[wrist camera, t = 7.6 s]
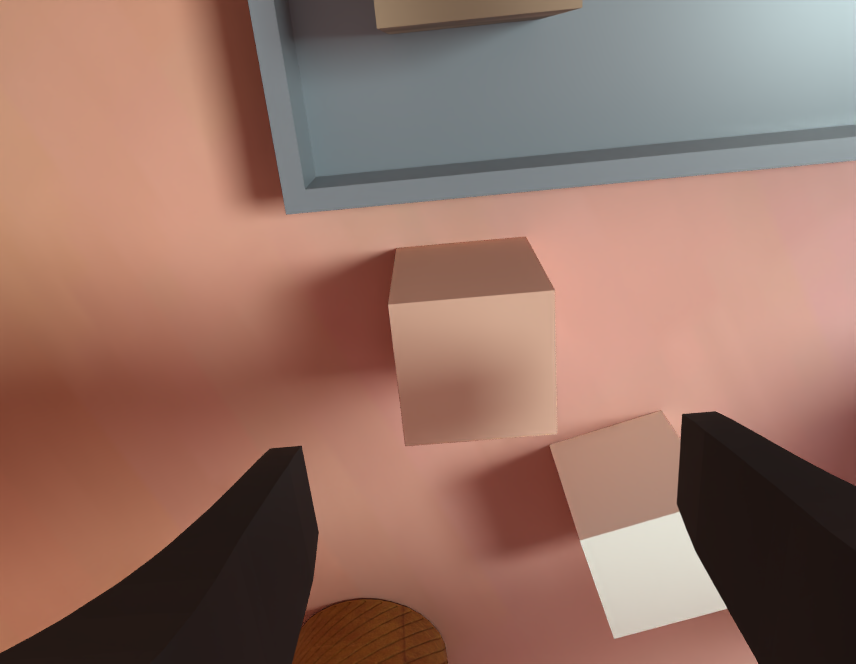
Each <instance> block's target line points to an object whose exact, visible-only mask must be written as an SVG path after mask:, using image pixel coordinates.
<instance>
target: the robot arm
mask: <svg viewBox="0 0 856 664" xmlns="http://www.w3.org/2000/svg"><path fill="white" fill-rule="evenodd" d="M677 506H678V509H679V512H680V514H681V517H682V520H683V522H684V525H685V527H686V530H687V532H688V535H689V537H690V540H691V542H692V545H693V547H694V549H695V552H696V553H697V555H698V557H699V559H700V561H701V563H702V564H703V566H704V568H705V570H706V572H707V573H708V575H709V577H710V579H711V580H712V582H713V584H714V586H715V588H716V589H717V591H718V593H719V595H720V596H721V598H722V600H723V602H724V603H725V605H726V607H727V609H728V610H729V612H730V614H731V616H732V617H733V619H734V621H735V623H736V624H737V626H738V628H739V630H740V631H741V633H742V635H743V637H744V638H745V640H746V642H747V644H748V645H749V647H750V649H751V651H752V652H753V654H754V656H755V658H756V660H757V662H758V664H856V486H854V485H852V484H850V483H848V482H846V481H844V480H842V479H840V478H838V477H836V476H834V475H832V474H830V473H828V472H826V471H824V470H822V469H820V468H818V467H816V466H814V465H813V464H811V463H809V462H807V461H805V460H803V459H801V458H800V457H798V456H796V455H794V454H792V453H791V452H789V451H787V450H785V449H783V448H782V447H780V446H778V445H776V444H774V443H773V442H771V441H769V440H767V439H766V438H764V437H762V436H760V435H759V434H757V433H755V432H753V431H752V430H750V429H748V428H746V427H744V426H743V425H741V424H739V423H737V422H735V421H734V420H732V419H730V418H728V417H726V416H724V415H722V414H720V413H718V412H703V413H691V414H682V427H681V442H680V458H679V473H678V489H677ZM318 533H319V532H318V527H317V522H316V517H315V512H314V507H313V501H312V496H311V491H310V486H309V481H308V476H307V471H306V466H305V461H304V456H303V451H302V446H295V447H283V448H271V449H269V450H268V451H267V452H266V453H265V454H264V455H263V456H262V457H261V458H260V459H259V460H258V461H257V462H256V463H255V464H254V465H253V466H252V467H251V468H250V469H249V470H248V471H247V472H246V473H245V474H244V475H243V476H242V477H241V478H240V479H239V480H238V481H237V482H236V483H235V484H234V485H233V486H232V487H231V488H230V489H229V490H228V491H227V492H226V493H225V494H224V495H223V496H222V497H221V498H220V499H219V500H218V501H217V502H216V503H215V504H214V505H213V506H212V507H211V508H209V509H208V510H207V511H206V512H205V513H204V514H203V515H202V516H201V517H199V518H198V519H197V520H196V521H195V522H194V523H193V524H192V525H191V526H189V527H188V528H187V529H186V530H185V531H184V532H183V533H182V534H180V535H179V536H178V537H177V538H176V539H175V540H174V541H173V542H171V543H170V544H169V545H168V546H167V547H165V548H164V549H163V550H162V551H160V552H159V553H158V554H157V555H155V556H154V557H153V558H152V559H150V560H149V561H148V562H146V563H145V564H144V565H142V566H141V567H140V568H138V569H137V570H136V571H134V572H133V573H132V574H130V575H129V576H128V577H126V578H125V579H123V580H122V581H121V582H119V583H118V584H116V585H115V586H113V587H112V588H110V589H109V590H107V591H106V592H104V593H102V594H101V595H99V596H98V597H96V598H95V599H93V600H92V601H90V602H88V603H87V604H85V605H84V606H82V607H81V608H79V609H78V610H76V611H74V612H73V613H71V614H70V615H68V616H67V617H65V618H63V619H62V620H60V621H58V622H57V623H55V624H53V625H51V626H49V627H48V628H46V629H44V630H42V631H41V632H39V633H37V634H35V635H34V636H32V637H30V638H28V639H26V640H24V641H23V642H21V643H19V644H17V645H15V646H13V647H11V648H9V649H8V650H6V651H4V652H2V653H0V664H292V661H293V658H294V654H295V650H296V646H297V642H298V638H299V634H300V630H301V626H302V623H303V619H304V615H305V611H306V607H307V603H308V599H309V595H310V590H311V586H312V582H313V576H314V568H315V560H316V551H317V542H318Z"/></svg>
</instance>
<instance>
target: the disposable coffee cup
mask: <svg viewBox="0 0 856 664" xmlns="http://www.w3.org/2000/svg"><path fill="white" fill-rule="evenodd" d="M292 664H448V662H447V654H446V649H445V644H444V642H443V640H442V637H441V635H440V633H439V632H438V631H437V630H436V628H435V627H434V626H433V625H432V624H431V623H430V621H428V620H427V619H426V618H425V617H423V616H422V615H421V614H419V613H417V612H415V611H414V610H412V609H410V608H408V607H405V606H402V605H399V604H396V603H393V602H389V601H383V600H373V599H360V600H352V601H346V602H342V603H338V604H335V605H332V606H330V607H328V608H326V609H324V610H322V611H320V612H318V613H317V614H315V615H314V616H313V617H311V618H310V619H309V620H308V621H307V622H306V623H305V624H304V626H303V627H302V628H301V630H300V634H299V638H298V642H297V646H296V650H295V654H294V658H293V661H292Z"/></svg>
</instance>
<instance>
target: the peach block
mask: <svg viewBox="0 0 856 664" xmlns="http://www.w3.org/2000/svg"><path fill="white" fill-rule="evenodd" d="M388 309H389V317H390V325H391V334H392V342H393V350H394V358H395V367H396V375H397V383H398V391H399V399H400V408H401V416H402V424H403V432H404V441H405V446H415V445H428V444H440V443H453V442H466V441H478V440H491V439H503V438H516V437H529V436H541V435H554V434H557V386H556V326H555V290H554V288H553V286H552V284H551V282H550V280H549V278H548V277H547V275H546V273H545V271H544V269H543V267H542V266H541V264H540V262H539V260H538V258H537V256H536V254H535V253H534V251H533V249H532V247H531V245H530V243H529V242H528V240H527V238H526V237H516V238H505V239H494V240H483V241H471V242H460V243H449V244H438V245H427V246H415V247H404V248H396V254H395V260H394V267H393V274H392V281H391V288H390V294H389V301H388Z"/></svg>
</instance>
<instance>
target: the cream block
mask: <svg viewBox="0 0 856 664" xmlns="http://www.w3.org/2000/svg"><path fill="white" fill-rule="evenodd" d="M680 442H681V439H680V437H679V436H678V434H677V433H676V431H675V430H674V428H673V427H672V425H671V424H670V422H669V421H668V419H667V418H666V416H665V415H664V413H663V412H662V410H660V411H657V412H654V413H651V414H647V415H644V416H641V417H638V418H634V419H631V420H628V421H625V422H621V423H618V424H615V425H612V426H609V427H605V428H602V429H599V430H596V431H592V432H589V433H586V434H583V435H579V436H576V437H573V438H570V439H567V440H563V441H560V442H557V443H554V444H550V449H551V452H552V455H553V458H554V461H555V464H556V467H557V471H558V474H559V477H560V480H561V483H562V486H563V489H564V493H565V496H566V499H567V502H568V505H569V508H570V511H571V514H572V518H573V521H574V524H575V527H576V530H577V533H578V536H579V540H580V543H581V545H582V548H583V551H584V554H585V557H586V560H587V563H588V565H589V568H590V571H591V574H592V577H593V580H594V583H595V585H596V588H597V591H598V594H599V597H600V600H601V603H602V606H603V608H604V611H605V614H606V617H607V620H608V623H609V626H610V628H611V631H612V634H613V637H614V639H616V638H620V637H624V636H627V635H631V634H635V633H639V632H642V631H646V630H650V629H653V628H657V627H661V626H665V625H668V624H672V623H676V622H680V621H683V620H687V619H691V618H695V617H698V616H702V615H706V614H710V613H713V612H717V611H721V610H725V609H727V607H726V605H725V603H724V602H723V600H722V598H721V596H720V595H719V593H718V591H717V589H716V588H715V586H714V584H713V582H712V580H711V579H710V577H709V575H708V573H707V572H706V570H705V568H704V566H703V564H702V563H701V561H700V559H699V557H698V555H697V553H696V552H695V549H694V547H693V545H692V542H691V540H690V537H689V535H688V532H687V530H686V527H685V525H684V522H683V520H682V517H681V514H680V512H679V509H678V506H677V489H678V473H679V458H680Z"/></svg>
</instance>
